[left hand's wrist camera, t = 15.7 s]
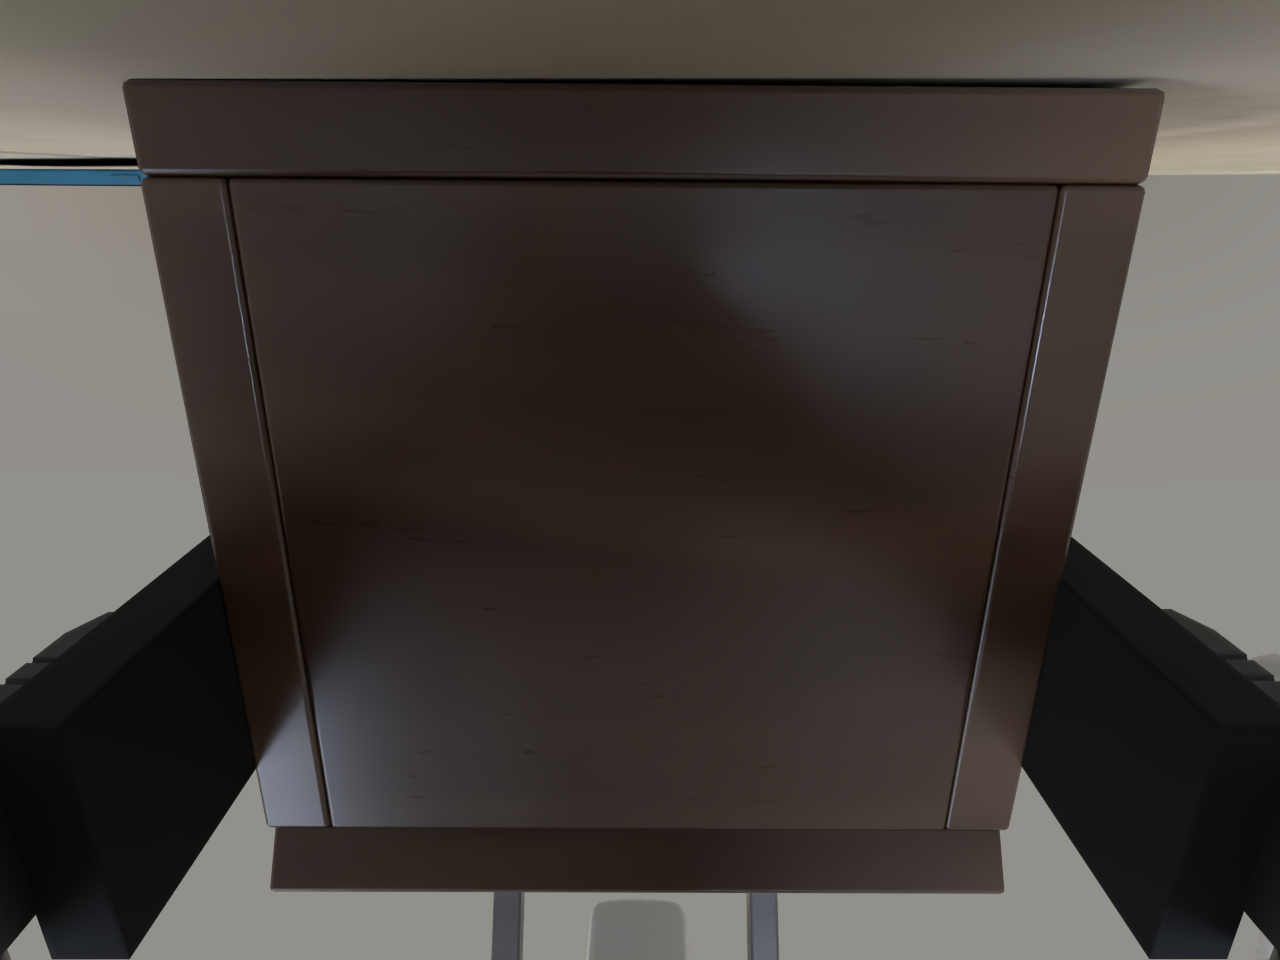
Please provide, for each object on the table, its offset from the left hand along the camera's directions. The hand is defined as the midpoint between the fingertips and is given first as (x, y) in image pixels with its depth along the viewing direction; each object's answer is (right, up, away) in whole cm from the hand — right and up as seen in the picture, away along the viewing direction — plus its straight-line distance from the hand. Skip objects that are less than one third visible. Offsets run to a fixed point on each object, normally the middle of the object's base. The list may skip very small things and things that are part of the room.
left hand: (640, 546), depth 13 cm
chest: (0, +7, 0) cm, 7 cm away
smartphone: (-18, +13, +15) cm, 27 cm away
